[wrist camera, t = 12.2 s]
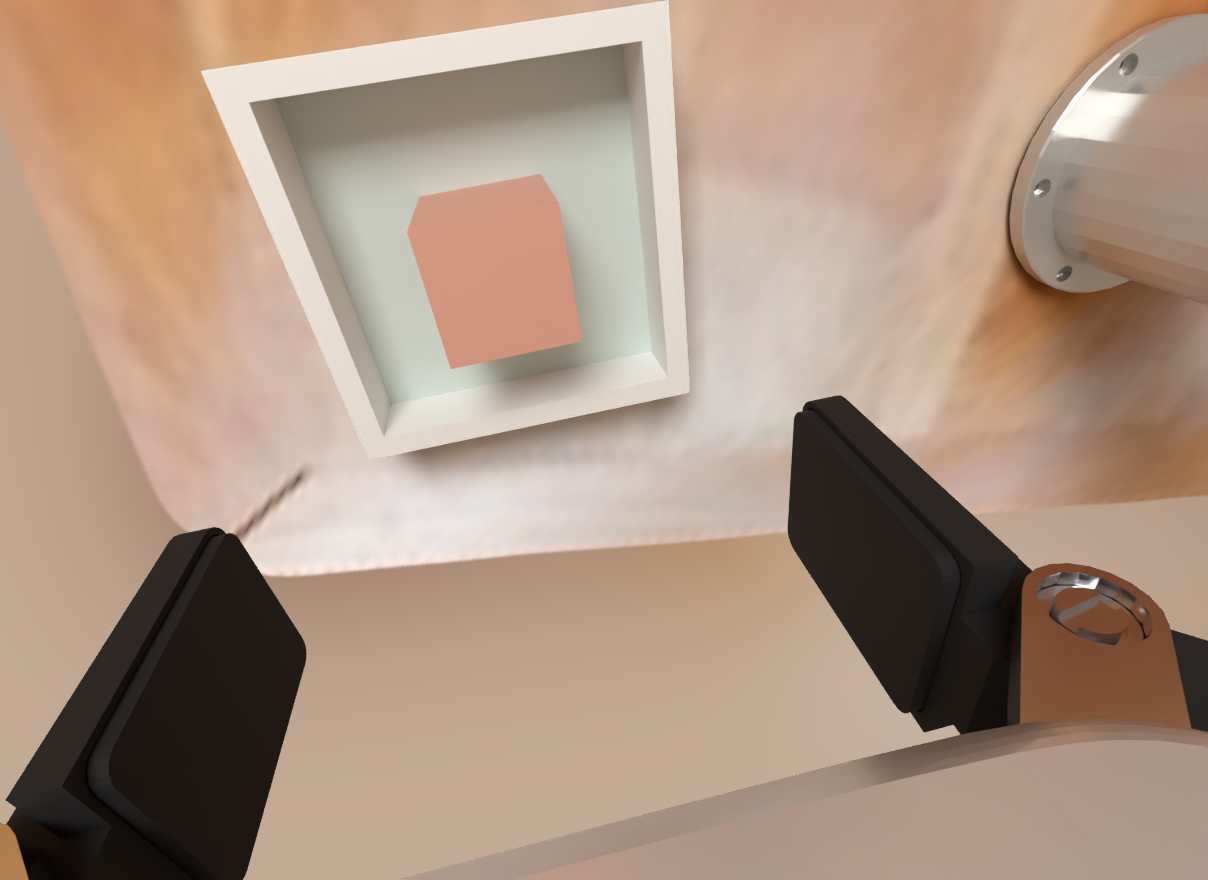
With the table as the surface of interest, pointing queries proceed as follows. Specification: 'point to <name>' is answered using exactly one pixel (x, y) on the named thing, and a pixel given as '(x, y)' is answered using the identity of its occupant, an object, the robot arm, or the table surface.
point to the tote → (465, 159)
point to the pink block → (496, 269)
